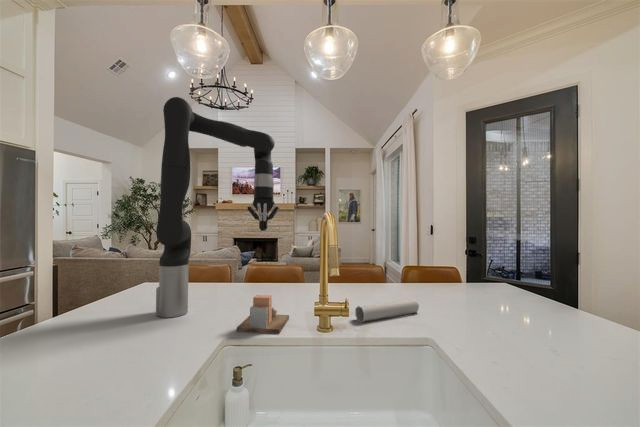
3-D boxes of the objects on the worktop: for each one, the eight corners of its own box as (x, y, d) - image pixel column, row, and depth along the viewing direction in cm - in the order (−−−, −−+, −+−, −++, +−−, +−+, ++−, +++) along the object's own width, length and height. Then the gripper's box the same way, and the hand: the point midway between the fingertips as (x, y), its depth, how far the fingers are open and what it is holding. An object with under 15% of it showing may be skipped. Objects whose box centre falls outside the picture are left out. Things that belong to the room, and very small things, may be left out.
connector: (249, 328, 87) (249, 307, 87) (252, 324, 90) (253, 305, 90) (266, 328, 86) (266, 308, 86) (268, 325, 89) (269, 305, 89)
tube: (410, 298, 111) (353, 306, 100) (420, 297, 106) (362, 305, 95) (413, 313, 109) (356, 323, 98) (423, 312, 104) (365, 322, 93)
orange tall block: (253, 323, 90) (253, 297, 90) (256, 320, 93) (256, 294, 93) (268, 324, 89) (269, 298, 89) (271, 321, 92) (271, 295, 92)
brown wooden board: (236, 331, 87) (236, 327, 87) (251, 317, 100) (251, 313, 100) (279, 333, 86) (279, 329, 86) (288, 318, 99) (289, 315, 99)
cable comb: (261, 315, 98) (261, 307, 98) (262, 314, 99) (262, 306, 99) (276, 316, 97) (276, 308, 98) (277, 315, 99) (277, 307, 99)
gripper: (243, 185, 112) (243, 230, 112) (277, 185, 110) (277, 231, 110) (250, 187, 119) (250, 230, 119) (282, 187, 118) (282, 230, 118)
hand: (263, 230), depth 115 cm, fingers closed
